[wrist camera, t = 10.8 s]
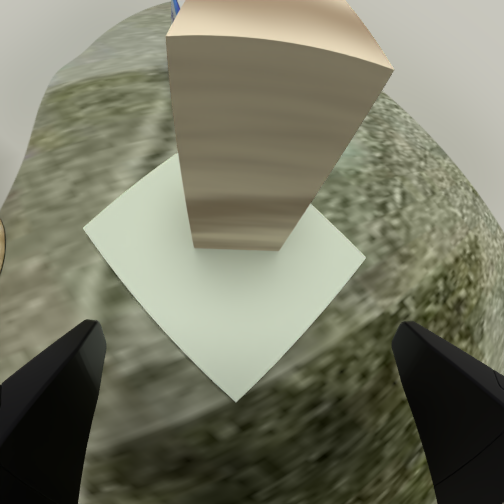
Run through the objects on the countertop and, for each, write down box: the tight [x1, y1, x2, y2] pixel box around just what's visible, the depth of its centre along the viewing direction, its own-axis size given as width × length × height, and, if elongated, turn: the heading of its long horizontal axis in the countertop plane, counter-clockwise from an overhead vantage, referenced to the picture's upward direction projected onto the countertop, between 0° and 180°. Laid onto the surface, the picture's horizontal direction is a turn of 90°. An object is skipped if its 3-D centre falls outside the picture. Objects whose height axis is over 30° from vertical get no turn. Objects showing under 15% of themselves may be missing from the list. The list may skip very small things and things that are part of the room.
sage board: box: [83, 153, 366, 402], centre depth 17 cm, size 14×12×1 cm
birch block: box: [166, 0, 394, 251], centre depth 11 cm, size 5×5×13 cm
